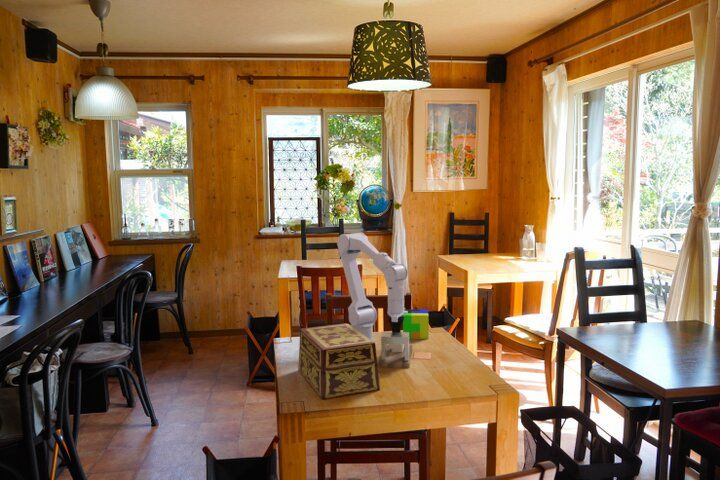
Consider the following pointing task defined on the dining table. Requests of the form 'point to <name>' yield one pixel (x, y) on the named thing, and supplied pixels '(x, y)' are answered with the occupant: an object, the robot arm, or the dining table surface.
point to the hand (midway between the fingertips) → (396, 336)
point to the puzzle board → (396, 358)
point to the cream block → (397, 348)
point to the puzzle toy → (416, 323)
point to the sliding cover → (394, 342)
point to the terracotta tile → (422, 355)
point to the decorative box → (338, 361)
